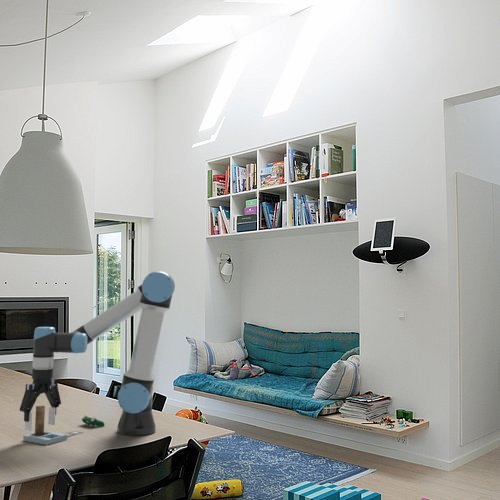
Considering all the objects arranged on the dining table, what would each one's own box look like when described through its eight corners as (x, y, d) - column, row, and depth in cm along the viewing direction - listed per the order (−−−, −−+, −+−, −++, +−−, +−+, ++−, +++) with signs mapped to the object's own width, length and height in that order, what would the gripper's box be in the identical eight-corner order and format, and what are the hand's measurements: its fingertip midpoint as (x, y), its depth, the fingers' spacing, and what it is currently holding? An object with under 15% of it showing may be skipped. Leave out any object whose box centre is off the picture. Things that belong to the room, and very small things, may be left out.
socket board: (67, 439, 232) (67, 434, 232) (46, 445, 223) (47, 440, 223) (43, 435, 237) (43, 430, 237) (23, 440, 229) (23, 435, 229)
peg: (45, 438, 232) (46, 406, 233) (39, 440, 229) (40, 407, 230) (39, 437, 234) (40, 405, 234) (32, 439, 231) (34, 406, 232)
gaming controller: (86, 428, 259) (78, 419, 256) (91, 420, 261) (83, 412, 258) (100, 431, 254) (92, 423, 250) (106, 424, 256) (98, 415, 253)
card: (83, 432, 243) (83, 432, 243) (65, 437, 235) (65, 437, 235) (74, 430, 246) (74, 430, 246) (56, 435, 237) (57, 435, 237)
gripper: (58, 364, 245) (55, 420, 244) (10, 370, 225) (7, 431, 223) (72, 365, 242) (69, 422, 240) (25, 372, 221) (22, 434, 220)
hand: (39, 427), depth 232 cm, fingers open, 11 cm apart
